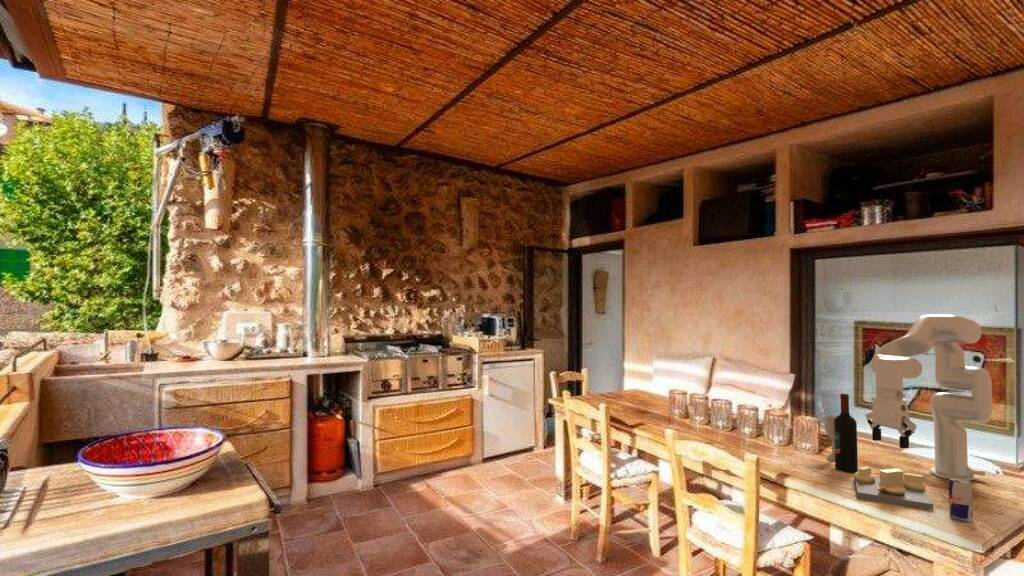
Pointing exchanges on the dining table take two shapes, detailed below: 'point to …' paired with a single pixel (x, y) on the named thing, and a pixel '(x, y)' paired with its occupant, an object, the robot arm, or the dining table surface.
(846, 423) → the wine bottle
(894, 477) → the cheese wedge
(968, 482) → the energy drink
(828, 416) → the chalice
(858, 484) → the base
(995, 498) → the dining table surface
